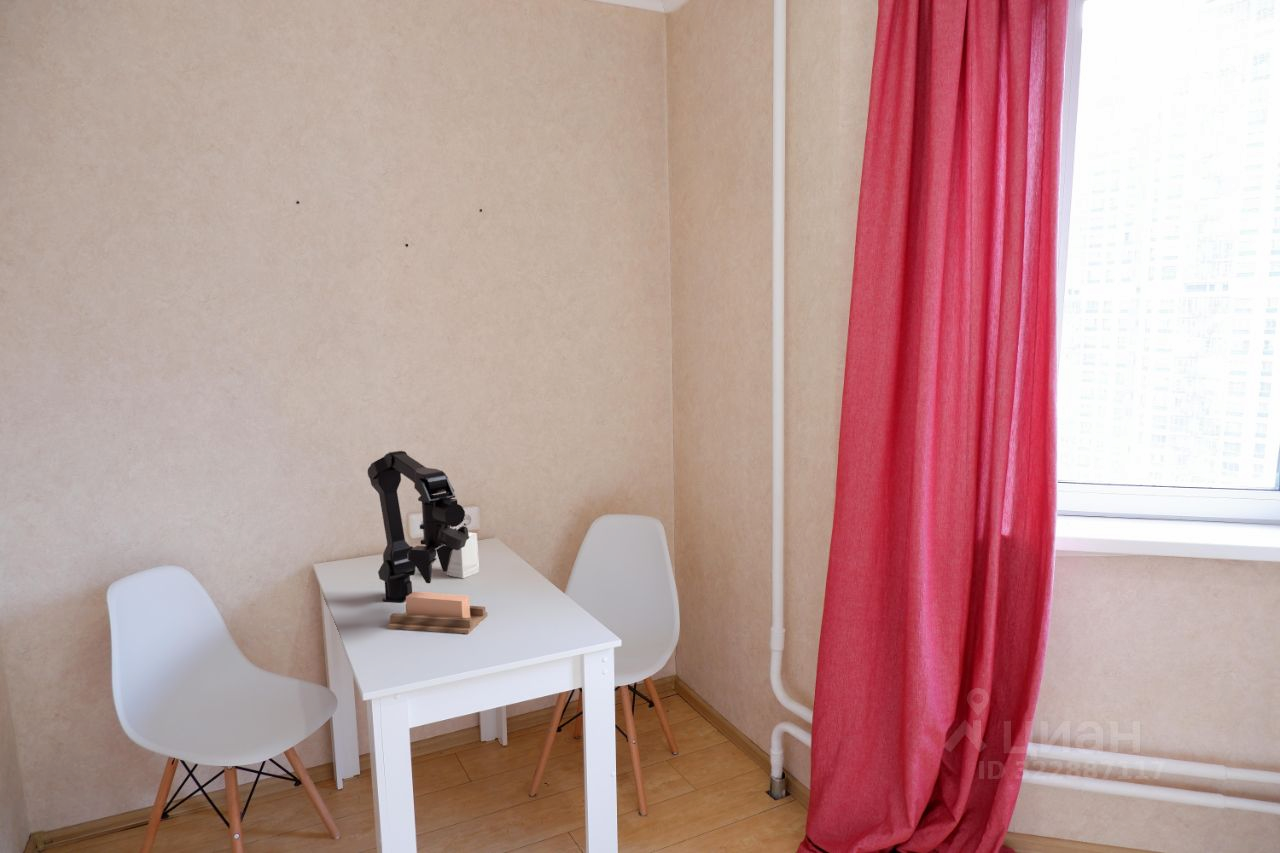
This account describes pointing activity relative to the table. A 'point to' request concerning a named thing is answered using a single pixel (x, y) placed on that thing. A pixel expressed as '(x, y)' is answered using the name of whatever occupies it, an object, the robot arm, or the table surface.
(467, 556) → the supplement box
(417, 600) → the peach rectangular block
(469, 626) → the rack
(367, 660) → the table surface
